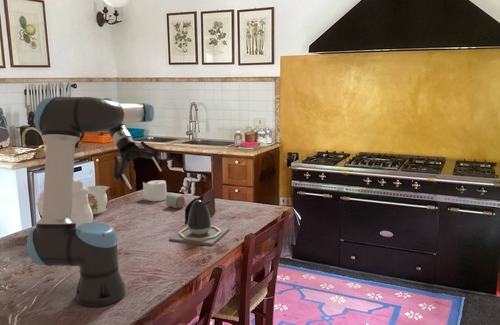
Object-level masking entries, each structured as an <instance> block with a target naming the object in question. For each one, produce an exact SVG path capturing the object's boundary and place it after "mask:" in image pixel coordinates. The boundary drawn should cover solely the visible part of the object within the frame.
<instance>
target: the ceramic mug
mask: <svg viewBox="0 0 500 325" xmlns="http://www.w3.org/2000/svg"><path fill="white" fill-rule="evenodd" d="M185 201H186V200H185V197H184V196H183V195H181V194H178V193H175V192H174V193H173V192H169V193H168V194H167V197H166V200H165V205H166V206H167V207H169V208H174V209H182V208H183V207H184V206H187V205H186V204H187V202H185Z"/></svg>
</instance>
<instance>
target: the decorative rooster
mask: <svg viewBox="0 0 500 325" xmlns="http://www.w3.org/2000/svg"><path fill="white" fill-rule="evenodd" d="M85 188H86V187H85V186H84V182H83V181H82V180H81V179H75V178H73V193H72V213H71V217H72V219H73V220H74V221H75V222H76V229H77V227H78V226H79V225H81V224H84V223H91V222H94V221H93V220H94V214H92V210H91V208H90V206H89V203H88V194H87V193H88V191H89V190H87V189H85ZM43 194H44V190H43V191H42V192H40V194H39V195H38V201H36V206H37V209H38V211H39V214H40V216H41V217H42V212H43Z"/></svg>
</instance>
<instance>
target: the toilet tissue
mask: <svg viewBox="0 0 500 325" xmlns="http://www.w3.org/2000/svg"><path fill="white" fill-rule="evenodd" d="M142 187H143V188H142V191H143V199H144V200H147V201H151V202H162V201H166V197H167V195H168V194H167V193H168V192H167V182H166V180H163V179H162V180H161V179H159V180H157V179H156V180H150V181H148V182H142Z"/></svg>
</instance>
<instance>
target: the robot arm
mask: <svg viewBox="0 0 500 325" xmlns="http://www.w3.org/2000/svg"><path fill="white" fill-rule="evenodd" d="M154 117H155V108H154V105H153V104H152V103H145V102H143V103H134V102H133V103H132V102H131V103H128V102H127V103H124V102H121V103H119V102H118V101H116V100H113V99H112V98H109V97H104V98H99V97H93V96H54V97H46V98H44V99H42V100H41V101H40V102H39V103H38V104H37V106H36V108H35V112H34V118H33V119H34V124H35V129H36V130H37V131H38V132H39V133H41V139H43V140H44V141H45V144H46V145H45V162H44V164H45V165H44V178H43V191H44V194H43V212H42V216H41V218H40V219H39V220H38V221H37V222H36V225H35V226H36V227H35V228H32V229H31V230H30V231H29V233H28V236H27V238H26V250H27V254H28V256H29V258H30V260H31V261H32V263H34V264H35V265H37V266H46V267H53V266H58V267H79V279H78V284H77V288H76V292H75V299H76V302H77V304H79V305H80V306H83V307H86V308H87V307H88V308H100V307H106V306H109V305H112V304H115V303H117V302H119V301H120V300H122V299H123V298H125V297H126V293H127V292H126V284H125V283H124V280H123V277H122V275H121V273H120V271H119V256H118V254H119V253H118V239H117V234H116V229H115V228H114V227H112V226H111V225H110V224H107V223H103V222H94V221H92V222H91V223H84V224H81V225H79V226H78V227H77V229H76V222H75V221H74V220H73V219H72V217H71V213H72V193H73V179H74V172H75V152H76V151H75V150H76V144H77V143H78V142H79V141H80V140H81V134H82V133H83V134H86V133H87V134H88V133H97V132H98V133H99V132H101V131H102V132H103V131H107V132H108V134H109V136H110V137H111V139H112V141H113V143H114V145H115V146H116V148H117V150H118V152H119V156H114V157H113V159H114V168H113V169H114V171H113V177H114V179H115V180H119V179H120V181H121V182H122V184H125V185H126V186H127V187H128V188H129V190H132V189H133V188H132V186H131V184H130V182H129V180H128V178H127V176H126V171H127V169H128V165H130V162H132V161H134V160H135V159H137V158H138V157H144V158H149V159H152V160H153V162H154V163H155V165H156V167H157V168H158V171H159V172H160V173H161V172H162V171H163V169H162V168H161V167H160V164H161V161H160V160H159V158H158V157H160V156H161V152H160V151H159V150H158V149H157V148H154V147H153V146H150V145H148V144H146V143H145V142H144V141H141V142H140V144H138V145H137V143H136V141H135V140H134V139H133V137H132V135H131V133H130V131H129V130H128V128H127V127H126V124H131V123H147V122H148V123H150V122H152V121H153V120H154V119H155V118H154ZM141 149H145V150H141ZM121 160H122V163H121Z"/></svg>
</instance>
